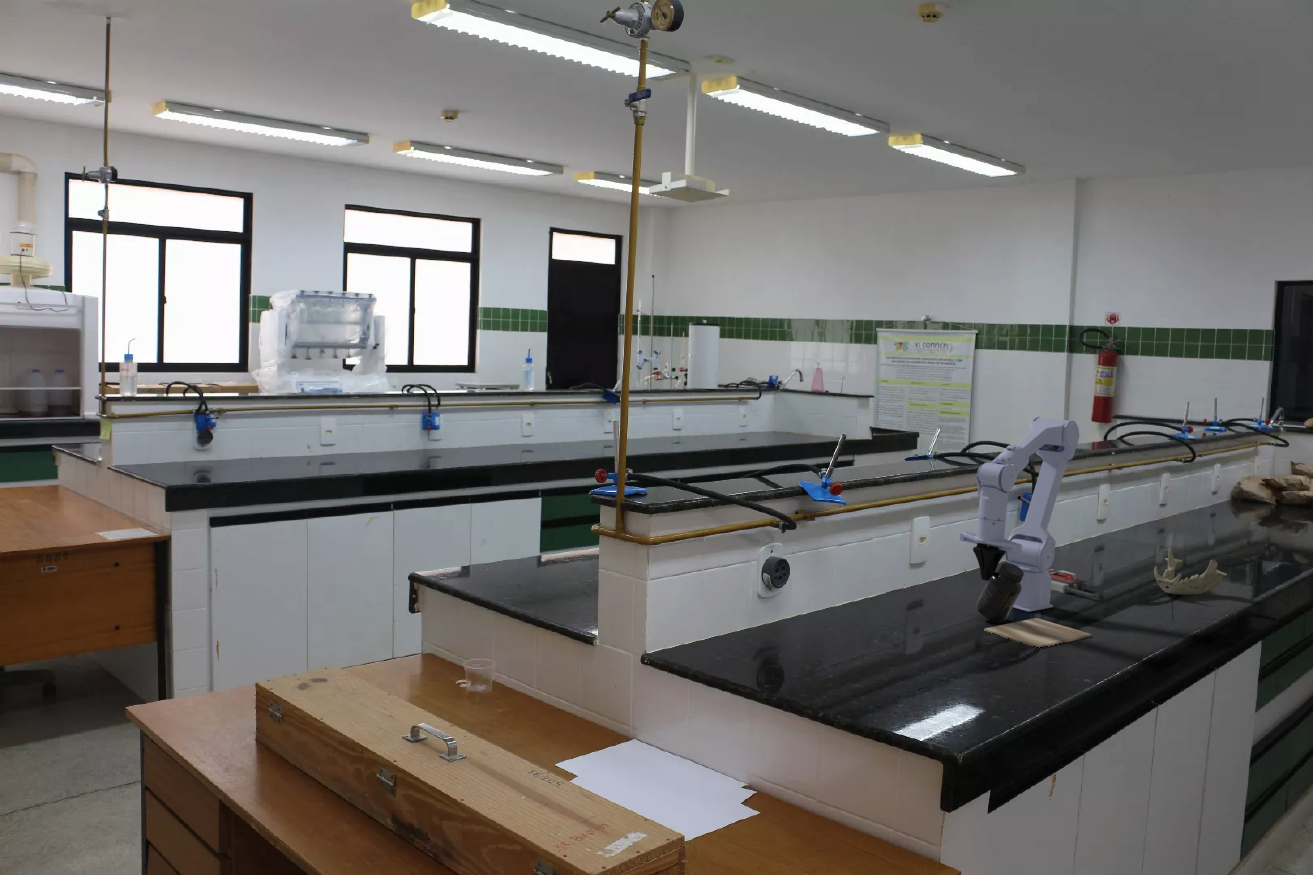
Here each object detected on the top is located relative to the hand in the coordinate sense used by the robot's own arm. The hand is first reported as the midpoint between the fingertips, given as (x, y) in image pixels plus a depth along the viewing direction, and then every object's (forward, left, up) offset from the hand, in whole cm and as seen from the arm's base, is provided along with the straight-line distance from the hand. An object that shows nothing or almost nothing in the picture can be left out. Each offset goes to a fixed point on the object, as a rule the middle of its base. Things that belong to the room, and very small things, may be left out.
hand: (986, 579), depth 216 cm
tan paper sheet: (0, +13, -9) cm, 16 cm away
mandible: (-67, +8, -9) cm, 68 cm away
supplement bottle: (0, +1, -7) cm, 7 cm away
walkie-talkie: (-42, -7, -9) cm, 44 cm away
